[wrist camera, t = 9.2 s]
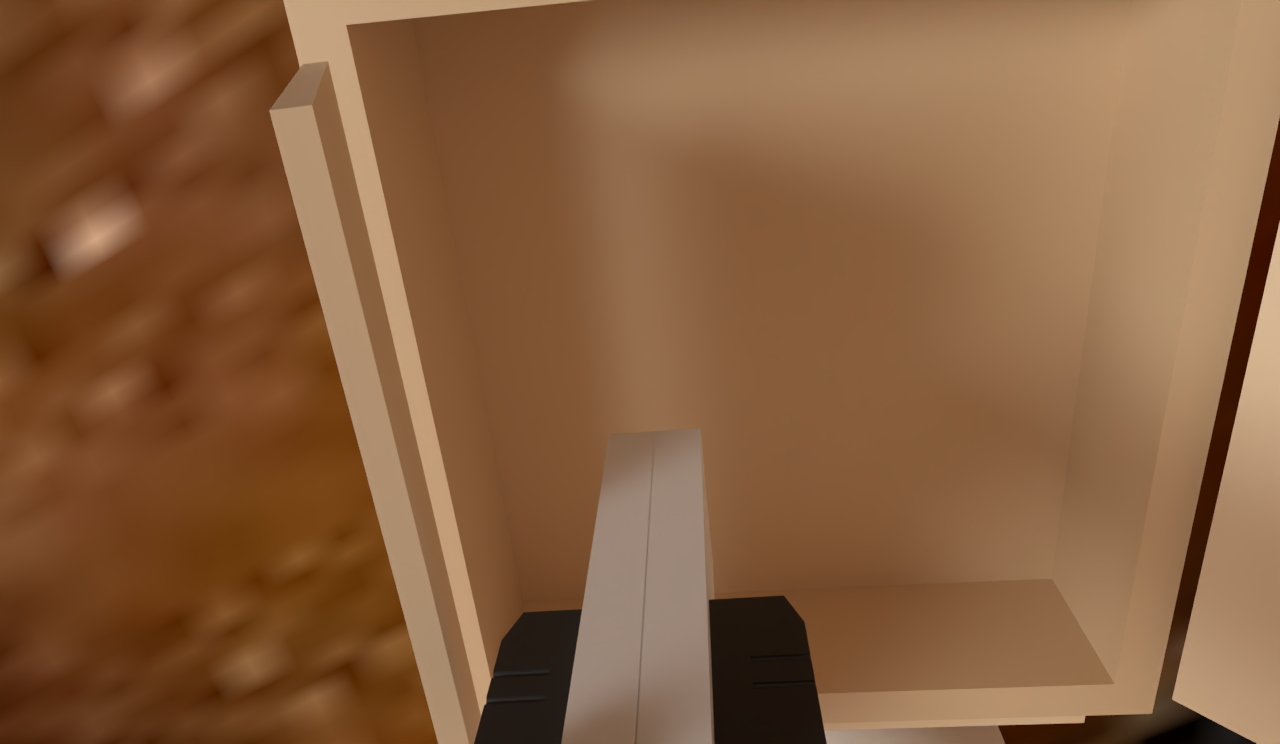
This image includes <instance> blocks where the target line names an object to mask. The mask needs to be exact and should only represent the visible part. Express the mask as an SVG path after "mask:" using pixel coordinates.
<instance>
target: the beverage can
mask: <svg viewBox="0 0 1280 744" xmlns="http://www.w3.org/2000/svg"><path fill="white" fill-rule="evenodd" d="M824 731H825V737H826V742H827V744H1005V742H1004V740H1003V737H1002V735H1001V732H1000V730H999V727H998V725H993V726H958V727H924V728H889V729H855V730H824Z"/></svg>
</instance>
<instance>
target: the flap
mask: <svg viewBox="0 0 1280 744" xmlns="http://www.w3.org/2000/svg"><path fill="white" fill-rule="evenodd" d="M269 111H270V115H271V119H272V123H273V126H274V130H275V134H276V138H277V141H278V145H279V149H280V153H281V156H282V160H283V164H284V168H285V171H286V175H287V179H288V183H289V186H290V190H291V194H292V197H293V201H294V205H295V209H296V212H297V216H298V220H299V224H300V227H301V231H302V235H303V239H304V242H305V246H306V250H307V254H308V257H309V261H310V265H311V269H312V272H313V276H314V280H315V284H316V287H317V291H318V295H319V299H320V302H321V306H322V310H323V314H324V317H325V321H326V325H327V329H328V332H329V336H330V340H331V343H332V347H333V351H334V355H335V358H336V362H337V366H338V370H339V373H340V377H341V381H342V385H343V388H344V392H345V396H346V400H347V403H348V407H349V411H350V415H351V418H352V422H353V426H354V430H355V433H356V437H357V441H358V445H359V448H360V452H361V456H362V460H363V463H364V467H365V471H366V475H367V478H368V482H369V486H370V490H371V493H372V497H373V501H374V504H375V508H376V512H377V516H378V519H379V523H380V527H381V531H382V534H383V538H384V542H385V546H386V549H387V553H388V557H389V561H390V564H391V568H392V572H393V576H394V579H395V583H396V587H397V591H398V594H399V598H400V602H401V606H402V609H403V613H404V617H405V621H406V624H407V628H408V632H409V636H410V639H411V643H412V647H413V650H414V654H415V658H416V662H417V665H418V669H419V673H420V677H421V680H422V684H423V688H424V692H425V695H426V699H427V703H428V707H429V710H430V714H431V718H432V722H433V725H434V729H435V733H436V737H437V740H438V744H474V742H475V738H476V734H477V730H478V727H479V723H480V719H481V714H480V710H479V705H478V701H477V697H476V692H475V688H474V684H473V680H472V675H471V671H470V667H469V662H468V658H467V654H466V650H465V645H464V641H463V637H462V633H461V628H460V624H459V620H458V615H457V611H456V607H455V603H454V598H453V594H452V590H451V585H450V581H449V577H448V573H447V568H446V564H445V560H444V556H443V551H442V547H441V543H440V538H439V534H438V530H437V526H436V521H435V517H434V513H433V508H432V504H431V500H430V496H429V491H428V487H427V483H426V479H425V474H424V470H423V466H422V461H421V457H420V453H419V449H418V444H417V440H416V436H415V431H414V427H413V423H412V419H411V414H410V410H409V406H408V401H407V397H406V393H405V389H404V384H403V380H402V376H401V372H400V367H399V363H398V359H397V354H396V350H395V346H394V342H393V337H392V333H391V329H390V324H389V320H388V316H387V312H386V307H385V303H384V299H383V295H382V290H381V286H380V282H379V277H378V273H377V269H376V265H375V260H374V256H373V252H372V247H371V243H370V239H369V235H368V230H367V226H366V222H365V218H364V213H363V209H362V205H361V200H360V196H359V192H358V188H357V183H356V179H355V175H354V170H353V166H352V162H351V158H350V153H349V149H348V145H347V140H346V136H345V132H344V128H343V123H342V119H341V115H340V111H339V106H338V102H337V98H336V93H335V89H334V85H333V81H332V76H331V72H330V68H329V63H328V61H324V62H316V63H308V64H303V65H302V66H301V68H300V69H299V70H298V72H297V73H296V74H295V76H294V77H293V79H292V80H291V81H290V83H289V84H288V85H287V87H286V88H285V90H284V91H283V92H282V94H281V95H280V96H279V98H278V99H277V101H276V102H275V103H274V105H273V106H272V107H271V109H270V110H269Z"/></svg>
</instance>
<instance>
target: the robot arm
mask: <svg viewBox="0 0 1280 744" xmlns="http://www.w3.org/2000/svg"><path fill="white" fill-rule="evenodd" d="M474 744H827V742H826V737H825V731H824V726H823V720H822V715H821V709H820V704H819V698H818V693H817V687H816V684H815V676H814V671H813V665H812V660H811V656H810V649H809V643H808V638H807V632H806V627H805V622H804V620H803V619H802V618H801V617H800V615H799V614H798V613H797V612H796V610H795V609H794V608H793V606H792V605H791V604H790V603H789V601H788V600H787V599H786V598H785V596H784V595H782V596H765V597H747V598H729V599H714V579H713V560H712V549H711V538H710V527H709V516H708V506H707V495H706V484H705V473H704V462H703V451H702V440H701V429H700V428H694V429H680V430H666V431H653V432H639V433H625V434H612V435H609V439H608V446H607V452H606V459H605V465H604V471H603V478H602V484H601V491H600V497H599V504H598V510H597V517H596V523H595V529H594V536H593V542H592V549H591V555H590V562H589V568H588V575H587V581H586V587H585V594H584V600H583V607H582V609H575V610H557V611H539V612H523V614H522V615H521V616H520V618H519V619H518V620H517V621H516V623H515V624H514V625H513V626H512V628H511V629H510V630H509V631H508V633H507V634H506V635H505V636H504V638H503V639H502V640H501V644H500V648H499V652H498V655H497V659H496V663H495V667H494V670H493V678H491V682H490V685H489V689H488V693H487V697H486V704H484V708H483V712H482V715H481V719H480V723H479V727H478V730H477V734H476V738H475V742H474Z"/></svg>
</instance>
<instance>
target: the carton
mask: <svg viewBox="0 0 1280 744" xmlns="http://www.w3.org/2000/svg"><path fill="white" fill-rule="evenodd" d="M283 1H284V5H285V9H286V13H287V17H288V21H289V25H290V29H291V33H292V37H293V41H294V45H295V49H296V53H297V57H298V61H299V65H300V68H301V66H302V65H303V64H308V63H316V62H324V61H328V63H329V68H330V72H331V76H332V81H333V85H334V89H335V93H336V98H337V102H338V106H339V111H340V115H341V119H342V123H343V128H344V132H345V136H346V140H347V145H348V149H349V153H350V158H351V162H352V166H353V170H354V175H355V179H356V183H357V188H358V192H359V196H360V200H361V205H362V209H363V213H364V218H365V222H366V226H367V230H368V235H369V239H370V243H371V247H372V252H373V256H374V260H375V265H376V269H377V273H378V277H379V282H380V286H381V290H382V295H383V299H384V303H385V307H386V312H387V316H388V320H389V324H390V329H391V333H392V337H393V342H394V346H395V350H396V354H397V359H398V363H399V367H400V372H401V376H402V380H403V384H404V389H405V393H406V397H407V401H408V406H409V410H410V414H411V419H412V423H413V427H414V431H415V436H416V440H417V444H418V449H419V453H420V457H421V461H422V466H423V470H424V474H425V479H426V483H427V487H428V491H429V496H430V500H431V504H432V508H433V513H434V517H435V521H436V526H437V530H438V534H439V538H440V543H441V547H442V551H443V556H444V560H445V564H446V568H447V573H448V577H449V581H450V585H451V590H452V594H453V598H454V603H455V607H456V611H457V615H458V620H459V624H460V628H461V633H462V637H463V641H464V645H465V650H466V654H467V658H468V662H469V667H470V671H471V675H472V680H473V684H474V688H475V692H476V697H477V701H478V705H479V710H480V714H481V715H482V712H483V708H484V704H486V697H487V693H488V689H489V685H490V682H491V678H493V670H494V667H495V663H496V659H497V655H498V652H499V648H500V644H501V640H502V639H503V638H504V636H505V635H506V634H507V633H508V631H509V630H510V629H511V628H512V626H513V625H514V624H515V623H516V621H517V620H518V619H519V618H520V616H521V615H522V614H523V612H539V611H557V610H575V609H582V607H583V600H584V594H585V587H586V581H587V575H588V568H589V562H590V555H591V549H592V542H593V536H594V529H595V523H596V517H597V510H598V504H599V497H600V491H601V484H602V478H603V471H604V465H605V459H606V452H607V446H608V439H609V435H612V434H625V433H639V432H653V431H666V430H680V429H694V428H700V429H701V440H702V451H703V462H704V473H705V484H706V495H707V506H708V516H709V527H710V538H711V549H712V560H713V579H714V599H729V598H747V597H765V596H782V595H784V596H785V598H786V599H787V600H788V601H789V603H790V604H791V605H792V606H793V608H794V609H795V610H796V612H797V613H798V614H799V615H800V617H801V618H802V619H803V620H804V622H805V627H806V632H807V638H808V643H809V649H810V656H811V660H812V665H813V671H814V676H815V684H816V687H817V693H818V698H819V704H820V709H821V715H822V720H823V726H824V730H855V729H889V728H924V727H958V726H993V725H1027V724H1062V723H1084V721H1085V716H1092V715H1126V714H1152V712H1153V707H1154V703H1155V698H1156V693H1157V688H1158V684H1159V679H1160V674H1161V670H1162V665H1163V660H1164V656H1165V651H1166V646H1167V642H1168V637H1169V632H1170V628H1171V623H1172V618H1173V614H1174V609H1175V604H1176V600H1177V595H1178V590H1179V586H1180V581H1181V576H1182V572H1183V567H1184V562H1185V558H1186V553H1187V548H1188V544H1189V539H1190V534H1191V530H1192V525H1193V520H1194V516H1195V511H1196V506H1197V502H1198V497H1199V492H1200V488H1201V483H1202V478H1203V474H1204V469H1205V464H1206V460H1207V455H1208V450H1209V446H1210V441H1211V436H1212V431H1213V427H1214V422H1215V417H1216V413H1217V408H1218V403H1219V399H1220V394H1221V389H1222V385H1223V380H1224V375H1225V371H1226V366H1227V361H1228V357H1229V352H1230V347H1231V343H1232V338H1233V333H1234V329H1235V324H1236V319H1237V315H1238V310H1239V305H1240V301H1241V296H1242V291H1243V287H1244V282H1245V277H1246V273H1247V268H1248V263H1249V259H1250V254H1251V249H1252V245H1253V240H1254V235H1255V231H1256V226H1257V221H1258V217H1259V212H1260V207H1261V203H1262V198H1263V193H1264V189H1265V184H1266V179H1267V174H1268V170H1269V165H1270V160H1271V156H1272V151H1273V146H1274V142H1275V137H1276V132H1277V128H1278V123H1279V118H1280V0H283Z"/></svg>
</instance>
